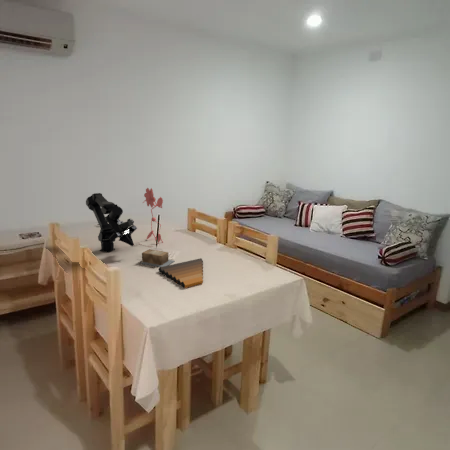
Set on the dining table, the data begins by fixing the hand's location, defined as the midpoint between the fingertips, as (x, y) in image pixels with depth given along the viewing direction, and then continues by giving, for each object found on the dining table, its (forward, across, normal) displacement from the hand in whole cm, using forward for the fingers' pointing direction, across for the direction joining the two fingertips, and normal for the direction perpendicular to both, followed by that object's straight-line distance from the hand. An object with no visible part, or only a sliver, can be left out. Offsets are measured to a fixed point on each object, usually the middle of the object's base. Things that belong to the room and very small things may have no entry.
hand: (133, 245), depth 198 cm
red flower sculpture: (0, +30, +11) cm, 32 cm away
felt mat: (+16, -1, -6) cm, 17 cm away
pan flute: (+33, -8, -23) cm, 41 cm away
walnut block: (+9, 0, -3) cm, 9 cm away
